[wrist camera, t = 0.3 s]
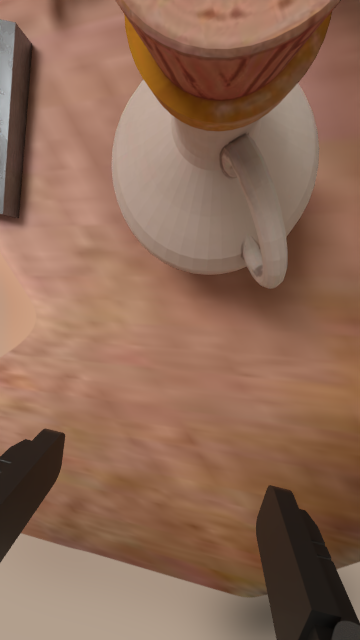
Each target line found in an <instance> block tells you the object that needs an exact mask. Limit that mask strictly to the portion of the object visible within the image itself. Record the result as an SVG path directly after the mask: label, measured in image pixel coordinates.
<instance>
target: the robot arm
mask: <svg viewBox="0 0 360 640" xmlns="http://www.w3.org/2000/svg"><path fill="white" fill-rule="evenodd" d="M64 441H65V434H64V433H61V432H57V431H53V430H49V429H43V430H42V431H41V432H40V433H39V434H38V435H37V436H36V437H35V438H34V439H33V440H32V441H30V440H26V439H25V440H23V441H21V442H19V443H17V444H16V445H14V446H12V447H10V448H9V449H8V450H7V451H6V452H5V453H4V454H3V455H2V456H0V562H1V561H2V559H3V558H4V556H5V555H6V553H7V552H8V551H9V549H10V548H11V546H12V544H13V543H14V542H15V540H16V539H17V537H18V536H19V535H20V533H21V532H22V530H23V529H24V527H25V526H26V524H27V523H28V521H29V520H30V518H31V517H32V515H33V514H34V513H35V511H36V510H37V508H38V507H39V505H40V504H41V502H42V501H43V499H44V498H45V496H46V495H47V494H48V492H49V491H50V489H51V488H52V486H53V485H54V483H55V481H56V479H57V477H58V475H59V472H60V469H61V465H62V457H63V449H64ZM256 535H257V541H258V547H259V552H260V557H261V562H262V567H263V572H264V577H265V582H266V587H267V592H268V597H269V602H270V607H271V613H272V618H273V623H274V628H275V633H276V638H277V640H360V623H359V620H358V618H357V616H356V614H355V611H354V609H353V607H352V604H351V602H350V600H349V597H348V595H347V593H346V591H345V588H344V586H343V584H342V581H341V579H340V577H339V575H338V572H337V570H336V568H335V565H334V563H333V562H332V561H331V556H330V554H329V552H328V549H327V547H325V542H324V540H323V538H322V536H321V533H320V531H319V529H318V526H317V525H316V524H315V522H314V521H313V520H312V519H311V517H310V516H309V515H308V513H307V512H306V511H305V510H301V509H299V508H298V505H297V503H296V500H295V498H294V495H293V493H292V492H291V491H290V490H287V489H283V488H279V487H275V486H271V485H270V486H269V487H268V488H267V491H266V494H265V496H264V499H263V502H262V505H261V508H260V511H259V514H258V517H257V522H256Z"/></svg>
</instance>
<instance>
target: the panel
mask: <svg viewBox="0 0 360 640" xmlns="http://www.w3.org/2000/svg"><path fill="white" fill-rule="evenodd" d="M31 55H32V43H31V42H30V41H29V40H28V38H27V37H26V36H25V34H24V33H23V32H22V30H21V29H20V28H19V27H18V25H17V24H16V23H15V22H10V21H5V20H0V214H2V215H6V216H10V217H15V218H19V208H20V195H21V182H22V169H23V157H24V144H25V131H26V119H27V106H28V93H29V80H30V68H31Z"/></svg>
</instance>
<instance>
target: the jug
mask: <svg viewBox="0 0 360 640" xmlns="http://www.w3.org/2000/svg"><path fill="white" fill-rule="evenodd" d="M340 1H341V0H116V2H117V3H118V5H119V6H120V8H121V9H122V11H123V12H124V15H125V28H126V34H127V38H128V43H129V48H130V51H131V53H132V56H133V59H134V62H135V64H136V66H137V68H138V70H139V72H140V74H141V76H142V78H143V81H142V82H141V84H140V85H139V87H138V88H137V89H136V91H135V92H134V94H133V95H132V97H131V98H130V99H129V101H128V103H127V105H126V107H125V109H124V111H123V113H122V115H121V118H120V121H119V124H118V127H117V130H116V133H115V139H114V144H113V149H112V177H113V185H114V190H115V194H116V198H117V201H118V204H119V206H120V209H121V212H122V214H123V216H124V218H125V220H126V222H127V224H128V226H129V227H130V229H131V231H132V233H133V234H134V236H135V237H136V238H137V239H138V241H139V242H140V243H141V244H142V246H143V247H145V248H146V249H147V250H148V251H149V252H150V253H151V254H152V255H153V256H155V257H156V258H158V259H159V260H161V261H162V262H164V263H165V264H167V265H170V266H172V267H174V268H176V269H178V270H182V271H186V272H189V273H194V274H204V275H212V274H224V273H228V272H233V271H237V270H239V269H242V268H245V267H248V269H249V271H250V273H251V275H252V276H253V278H254V279H255V280H256V281H257V282H258V283H259V284H260V285H261V286H263V287H266V288H269V289H271V288H275V287H277V286H278V285H279V284H280V283H281V282H282V281H283V280H284V277H285V274H286V270H287V260H288V250H287V240H286V237H287V235H288V234H289V233H290V231H291V230H292V228H293V227H294V226H295V224H296V223H297V222H298V220H299V219H300V217H301V215H302V213H303V212H304V210H305V208H306V206H307V204H308V202H309V199H310V196H311V193H312V191H313V188H314V185H315V180H316V175H317V170H318V160H319V143H318V133H317V127H316V123H315V120H314V116H313V112H312V110H311V108H310V105H309V103H308V101H307V99H306V96H305V94H304V92H303V91H302V89H301V87H300V86H299V84H298V82H299V81H300V80H301V78H302V77H303V76H304V75H305V74H306V72H307V70H308V69H309V67H310V66H311V64H312V63H313V61H314V59H315V58H316V56H317V54H318V52H319V49H320V47H321V45H322V43H323V41H324V38H325V35H326V32H327V29H328V26H329V23H330V19H331V14H332V10H333V9H334V8H335V7H336V6H337V4H338V3H339V2H340Z"/></svg>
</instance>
